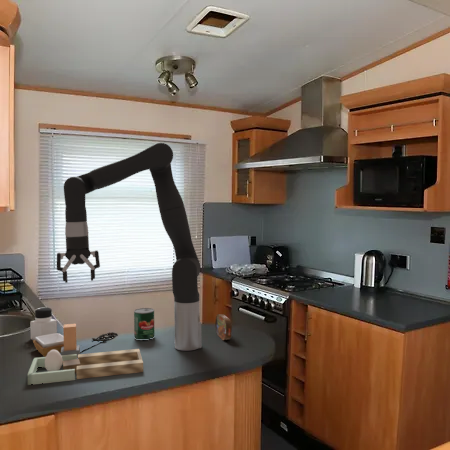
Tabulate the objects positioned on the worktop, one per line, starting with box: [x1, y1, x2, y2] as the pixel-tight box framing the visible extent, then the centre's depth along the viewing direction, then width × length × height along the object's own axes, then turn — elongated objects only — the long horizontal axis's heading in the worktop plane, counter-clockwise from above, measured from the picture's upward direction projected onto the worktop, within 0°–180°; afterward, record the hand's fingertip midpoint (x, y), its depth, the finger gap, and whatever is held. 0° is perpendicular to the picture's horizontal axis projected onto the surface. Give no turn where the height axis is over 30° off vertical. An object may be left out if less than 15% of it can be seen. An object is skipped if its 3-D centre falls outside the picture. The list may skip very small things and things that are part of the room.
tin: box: [214, 313, 233, 341], centre depth 181 cm, size 15×3×8 cm, turn 16°
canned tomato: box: [133, 307, 156, 339], centre depth 180 cm, size 8×8×11 cm
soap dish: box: [32, 332, 64, 357], centre depth 165 cm, size 12×10×5 cm
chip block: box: [62, 359, 80, 374], centre depth 146 cm, size 5×5×3 cm
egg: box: [44, 350, 63, 372], centre depth 145 cm, size 5×5×7 cm
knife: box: [91, 332, 119, 342], centre depth 174 cm, size 25×6×1 cm, turn 154°
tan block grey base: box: [61, 323, 81, 358], centre depth 159 cm, size 6×6×11 cm
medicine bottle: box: [29, 306, 58, 341], centre depth 181 cm, size 7×7×12 cm
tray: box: [26, 354, 77, 386], centre depth 144 cm, size 13×15×3 cm
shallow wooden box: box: [76, 348, 144, 380], centre depth 149 cm, size 20×14×3 cm
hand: (79, 281), depth 160 cm, fingers open, 8 cm apart
